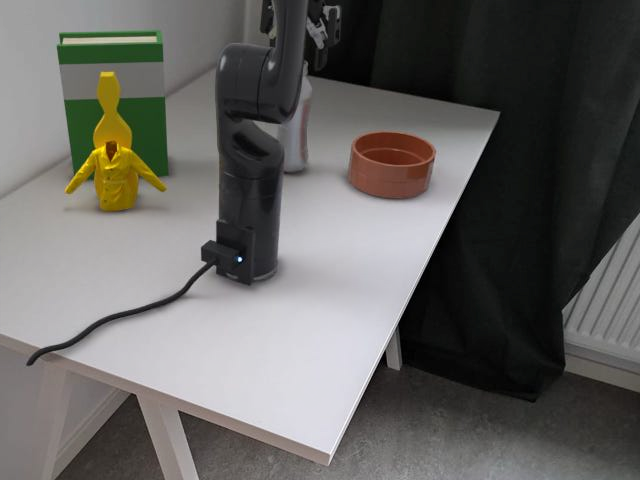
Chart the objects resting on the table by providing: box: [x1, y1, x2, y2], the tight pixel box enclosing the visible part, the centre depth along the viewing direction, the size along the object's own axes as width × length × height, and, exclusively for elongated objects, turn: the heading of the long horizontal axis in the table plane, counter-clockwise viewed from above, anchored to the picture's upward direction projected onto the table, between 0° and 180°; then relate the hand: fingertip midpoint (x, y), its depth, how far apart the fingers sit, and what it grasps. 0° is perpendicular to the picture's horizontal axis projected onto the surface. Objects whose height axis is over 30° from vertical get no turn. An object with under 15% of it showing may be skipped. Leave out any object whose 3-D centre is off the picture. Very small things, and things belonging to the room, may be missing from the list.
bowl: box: [347, 130, 437, 199], centre depth 134 cm, size 15×15×6 cm
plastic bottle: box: [276, 60, 314, 173], centre depth 133 cm, size 6×7×20 cm
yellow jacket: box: [64, 72, 168, 212], centre depth 121 cm, size 18×8×22 cm, turn 93°
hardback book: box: [56, 29, 169, 180], centre depth 131 cm, size 18×7×24 cm, turn 96°
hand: (296, 64), depth 127 cm, fingers open, 8 cm apart
